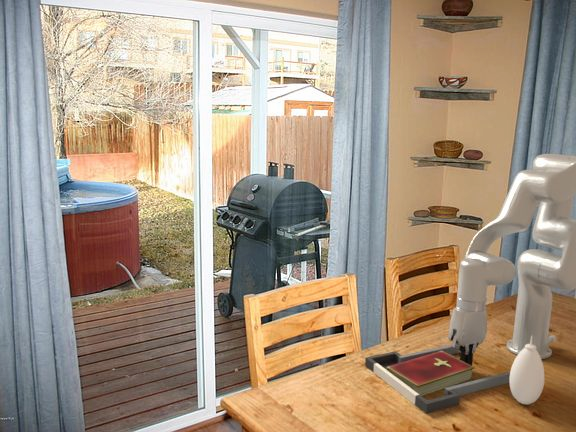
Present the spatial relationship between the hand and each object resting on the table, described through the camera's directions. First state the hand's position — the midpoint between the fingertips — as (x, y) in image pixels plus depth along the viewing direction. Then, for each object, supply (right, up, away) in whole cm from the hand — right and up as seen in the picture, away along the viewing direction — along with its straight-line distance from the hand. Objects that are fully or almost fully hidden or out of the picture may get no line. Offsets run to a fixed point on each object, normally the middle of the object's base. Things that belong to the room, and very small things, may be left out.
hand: (465, 365), depth 150 cm
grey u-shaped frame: (-8, -2, -3) cm, 9 cm away
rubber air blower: (+9, -5, -16) cm, 19 cm away
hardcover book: (-12, -3, -5) cm, 13 cm away
